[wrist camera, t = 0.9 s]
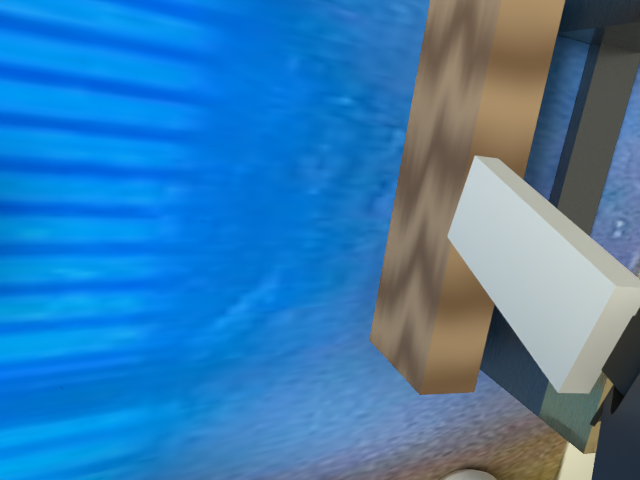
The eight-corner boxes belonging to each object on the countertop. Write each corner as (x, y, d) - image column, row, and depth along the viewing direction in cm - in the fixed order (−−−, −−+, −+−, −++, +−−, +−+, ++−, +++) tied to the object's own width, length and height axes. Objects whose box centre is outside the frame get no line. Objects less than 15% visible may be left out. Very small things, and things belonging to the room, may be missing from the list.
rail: (414, 338, 41) (474, 392, 34) (368, 339, 40) (419, 394, 33) (491, -51, 35) (585, -87, 28) (440, -66, 34) (523, -109, 26)
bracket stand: (541, 369, 46) (667, 456, 35) (469, 369, 44) (580, 463, 33) (655, -37, 39) (857, -85, 28) (577, -66, 36) (766, -132, 26)
